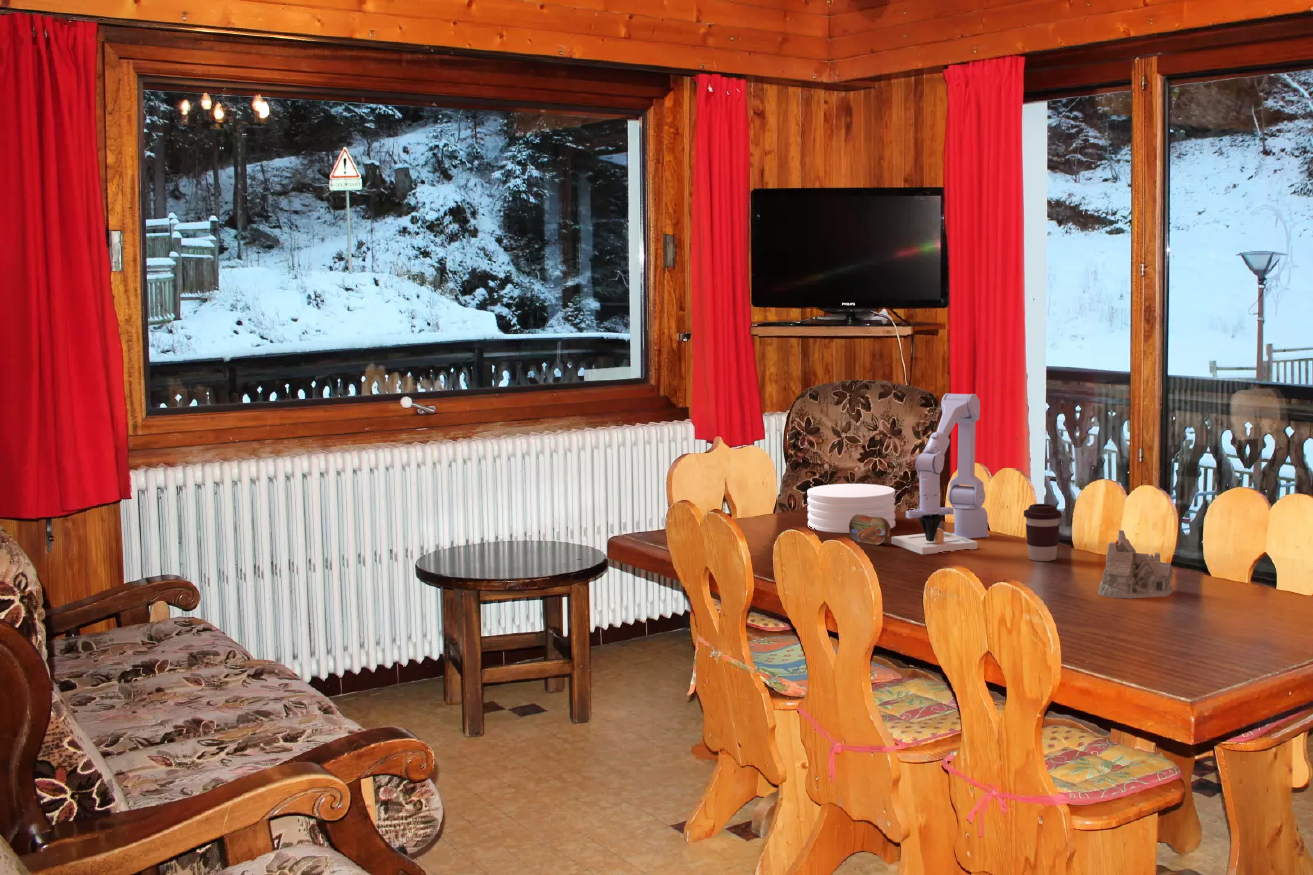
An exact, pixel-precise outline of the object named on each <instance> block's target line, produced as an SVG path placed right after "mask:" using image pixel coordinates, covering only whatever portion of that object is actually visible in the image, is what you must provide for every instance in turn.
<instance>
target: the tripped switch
mask: <svg viewBox="0 0 1313 875" xmlns="http://www.w3.org/2000/svg"><path fill="white" fill-rule="evenodd" d="M944 532H945V531H944V529H943V528H942V529H940V528H937V530H936V534H935V537H934V541H932V542H935V543H944Z"/></svg>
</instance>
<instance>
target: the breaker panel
mask: <svg viewBox="0 0 1313 875" xmlns="http://www.w3.org/2000/svg"><path fill="white" fill-rule="evenodd" d="M890 538H891V544H892V545H895V546H897V547H900V548H903V549H906V550H909V551H911V552H915V553H917V554H920V555H931V554H939V553H938V552H942V553H944V552H943V551H951V552H956V551H955V550H961V549H970V550H976V549H978V541H976V540H972V539H966V538H963V537H960V536H957V535H954V534H951V533H950V532H947V531H944V543H935V542H929V541H926V536H925V533H917V534H916V533H915V534H909V535H898V536H896V535H895V536H890ZM961 551H962V550H961Z"/></svg>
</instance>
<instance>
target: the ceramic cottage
mask: <svg viewBox="0 0 1313 875" xmlns="http://www.w3.org/2000/svg"><path fill="white" fill-rule="evenodd" d="M1117 542H1118V544H1117V545H1118V546H1117V545H1116V542H1115V541H1113V542H1111V541H1110V542H1109V543H1108V544H1107V545H1108V547H1107V551H1106V554H1105V556H1106V557H1105V558H1106V560H1105V561H1106V562H1105V568H1104V570H1103V572H1102V577H1101V578H1102V579H1101V580H1100V582H1099V583H1100V584H1099V585H1098V592H1097V594H1098V595H1100V596H1103V597H1107V598H1111V599H1112V598H1114V599H1137V598H1138V599H1142V598H1143V599H1144V598H1159V597H1169V596H1171V595H1172V594H1173V593H1174V590H1173V586H1172V585H1171V583H1172V580H1173V575H1174V569H1173V567H1172V564H1171V562H1162V561H1161V554H1160V552H1155V553H1154V555H1153V553H1152V554H1151V553H1150V554H1148V553H1141V552H1140V553H1138V552H1137V551H1136V549H1135V548H1134V546H1133V545H1132V544H1131V542H1130V540H1129V539H1128V538H1127V537H1126V534H1125V531H1124V529H1121V530H1120V529H1119V530H1118V535H1117Z"/></svg>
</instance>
